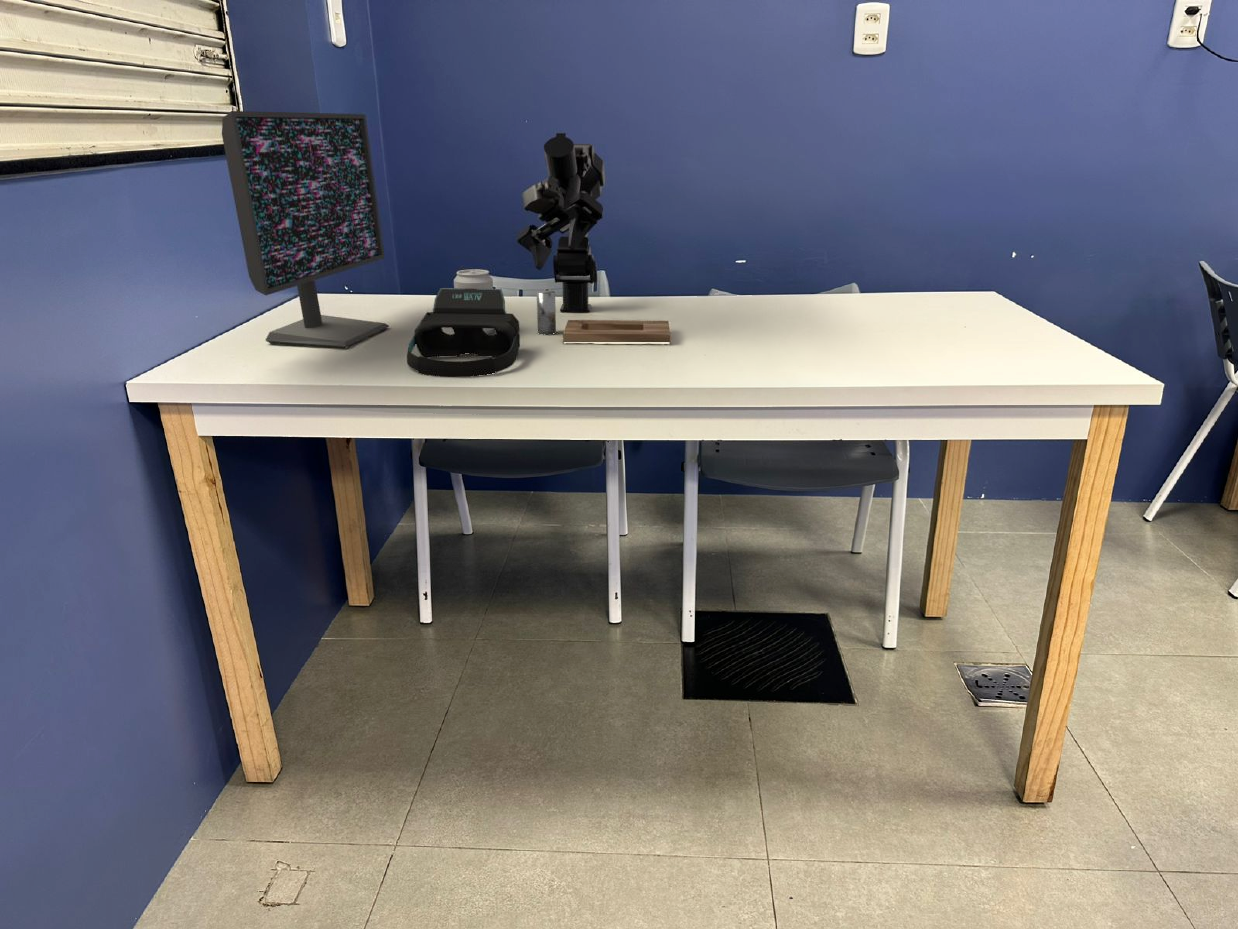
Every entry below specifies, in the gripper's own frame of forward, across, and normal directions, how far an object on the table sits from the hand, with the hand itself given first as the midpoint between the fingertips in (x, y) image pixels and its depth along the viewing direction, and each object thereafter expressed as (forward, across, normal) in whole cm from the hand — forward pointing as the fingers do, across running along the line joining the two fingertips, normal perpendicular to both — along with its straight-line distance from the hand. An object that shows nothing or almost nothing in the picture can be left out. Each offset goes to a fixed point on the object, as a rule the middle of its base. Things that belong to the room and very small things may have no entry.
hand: (554, 258), depth 162 cm
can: (+9, -20, -1) cm, 22 cm away
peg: (+8, -9, +8) cm, 15 cm away
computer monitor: (+14, -38, -22) cm, 46 cm away
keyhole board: (+10, +2, +16) cm, 19 cm away
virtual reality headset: (+26, -8, -10) cm, 29 cm away
